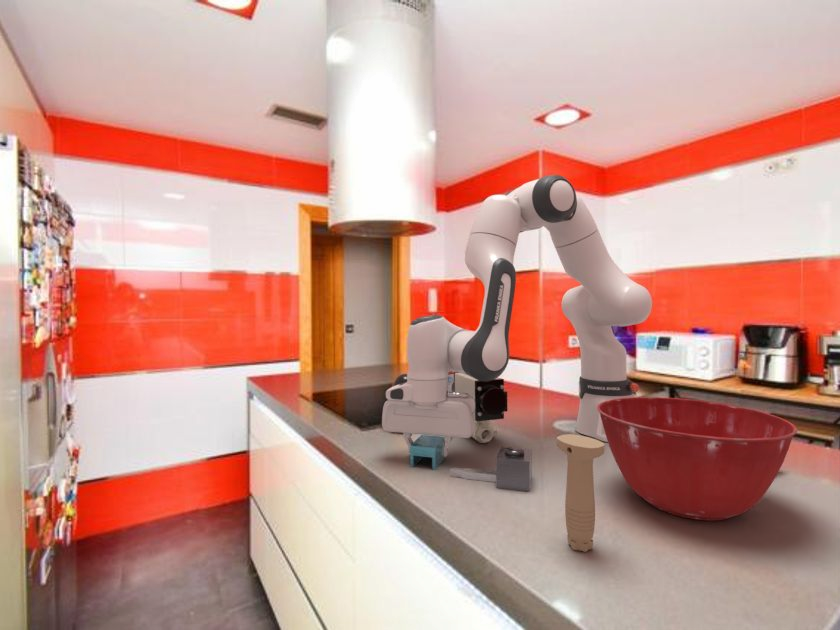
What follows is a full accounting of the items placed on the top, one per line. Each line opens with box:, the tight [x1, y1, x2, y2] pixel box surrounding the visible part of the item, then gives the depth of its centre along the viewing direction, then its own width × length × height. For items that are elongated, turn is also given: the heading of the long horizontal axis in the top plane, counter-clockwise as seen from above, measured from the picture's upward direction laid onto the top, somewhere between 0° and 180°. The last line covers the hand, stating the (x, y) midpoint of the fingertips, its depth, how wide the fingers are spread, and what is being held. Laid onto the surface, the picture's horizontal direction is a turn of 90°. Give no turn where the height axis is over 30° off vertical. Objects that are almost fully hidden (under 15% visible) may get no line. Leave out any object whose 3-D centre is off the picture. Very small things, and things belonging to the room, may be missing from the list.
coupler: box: [449, 446, 533, 493], centre depth 86 cm, size 16×7×6 cm, turn 72°
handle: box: [556, 433, 605, 553], centre depth 62 cm, size 5×6×15 cm
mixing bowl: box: [597, 396, 798, 521], centre depth 76 cm, size 28×28×16 cm
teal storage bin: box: [409, 434, 446, 471], centre depth 96 cm, size 8×6×4 cm
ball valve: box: [451, 372, 508, 444], centre depth 112 cm, size 18×8×18 cm, turn 19°
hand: (428, 454), depth 96 cm, fingers closed on teal storage bin, 5 cm apart
